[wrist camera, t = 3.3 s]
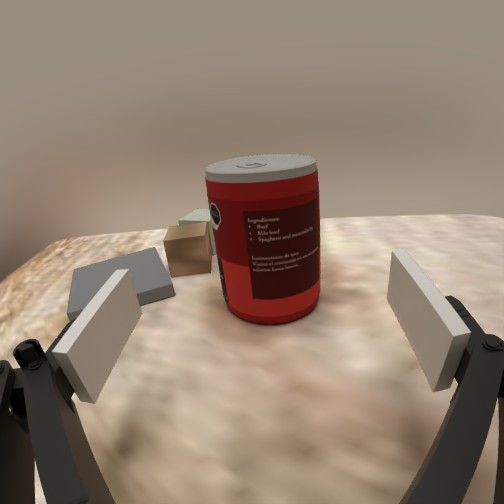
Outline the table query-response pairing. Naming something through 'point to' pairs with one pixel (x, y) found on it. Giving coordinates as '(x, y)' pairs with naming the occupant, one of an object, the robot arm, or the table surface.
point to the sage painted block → (199, 217)
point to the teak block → (188, 249)
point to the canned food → (267, 234)
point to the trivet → (139, 264)
